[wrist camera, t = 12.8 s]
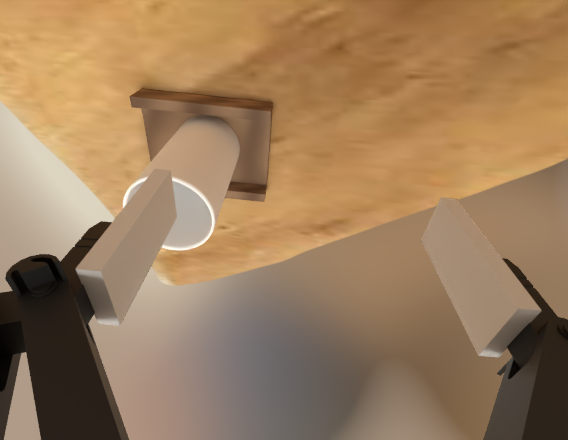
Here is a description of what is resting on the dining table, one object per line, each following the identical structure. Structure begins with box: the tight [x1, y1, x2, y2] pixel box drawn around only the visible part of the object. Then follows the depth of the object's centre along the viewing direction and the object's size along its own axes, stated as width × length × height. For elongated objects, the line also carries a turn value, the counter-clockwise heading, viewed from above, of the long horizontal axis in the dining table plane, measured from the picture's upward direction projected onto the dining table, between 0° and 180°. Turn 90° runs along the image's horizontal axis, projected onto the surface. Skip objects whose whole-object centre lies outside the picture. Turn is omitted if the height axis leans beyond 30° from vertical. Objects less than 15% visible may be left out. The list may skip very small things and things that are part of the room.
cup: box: [123, 115, 240, 250], centre depth 35 cm, size 8×8×16 cm
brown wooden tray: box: [130, 89, 273, 202], centre depth 41 cm, size 16×12×4 cm
